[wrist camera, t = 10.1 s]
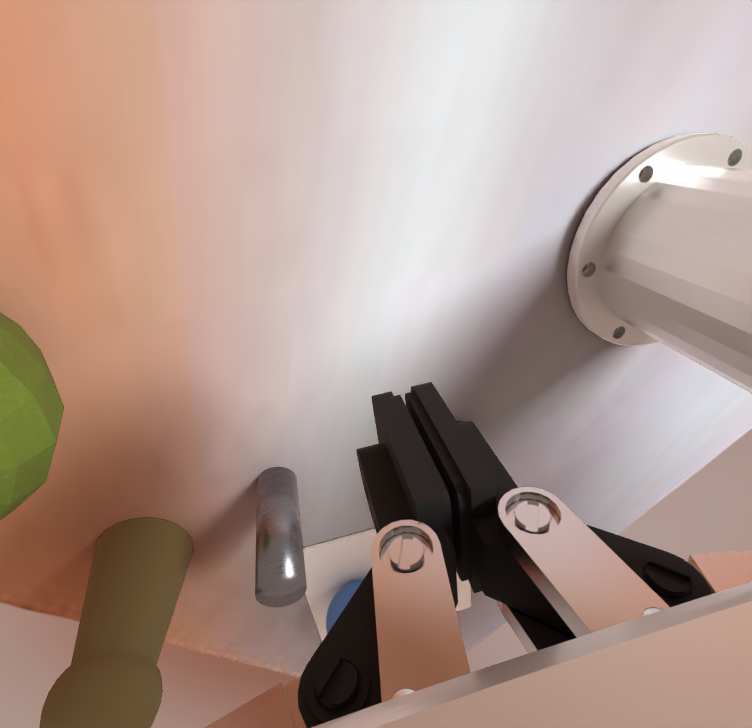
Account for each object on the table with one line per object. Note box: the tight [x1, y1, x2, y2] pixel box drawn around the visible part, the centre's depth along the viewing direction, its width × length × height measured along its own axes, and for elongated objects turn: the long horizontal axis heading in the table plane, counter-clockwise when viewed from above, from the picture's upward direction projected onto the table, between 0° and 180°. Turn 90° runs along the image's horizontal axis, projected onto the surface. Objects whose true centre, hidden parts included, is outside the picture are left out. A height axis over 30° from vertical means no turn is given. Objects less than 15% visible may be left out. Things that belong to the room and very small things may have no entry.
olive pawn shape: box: [40, 517, 194, 728], centre depth 25 cm, size 6×6×11 cm
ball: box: [326, 581, 362, 634], centre depth 35 cm, size 6×6×6 cm
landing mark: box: [303, 528, 471, 641], centre depth 38 cm, size 14×14×1 cm
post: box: [255, 467, 307, 607], centre depth 26 cm, size 3×3×8 cm
